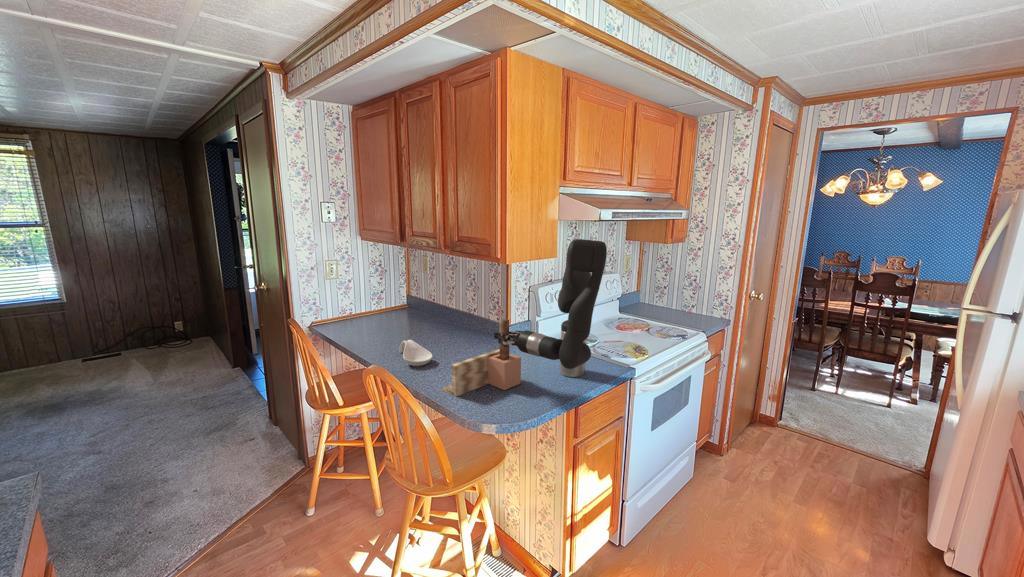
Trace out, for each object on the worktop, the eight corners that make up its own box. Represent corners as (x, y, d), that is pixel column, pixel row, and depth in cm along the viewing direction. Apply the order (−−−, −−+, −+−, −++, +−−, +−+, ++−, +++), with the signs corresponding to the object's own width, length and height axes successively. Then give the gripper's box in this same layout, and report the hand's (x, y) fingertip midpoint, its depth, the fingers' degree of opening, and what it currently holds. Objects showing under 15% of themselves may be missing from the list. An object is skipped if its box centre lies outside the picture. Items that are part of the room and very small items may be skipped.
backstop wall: (492, 372, 169) (492, 345, 167) (505, 376, 165) (505, 349, 163) (443, 390, 152) (442, 361, 150) (455, 396, 148) (455, 366, 146)
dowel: (504, 355, 158) (504, 318, 156) (511, 357, 156) (511, 320, 154) (497, 358, 156) (497, 320, 153) (504, 360, 154) (504, 322, 151)
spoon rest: (437, 365, 177) (436, 349, 176) (409, 371, 171) (408, 354, 169) (416, 350, 196) (415, 334, 195) (390, 354, 190) (389, 339, 189)
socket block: (504, 376, 164) (504, 351, 162) (520, 383, 158) (520, 357, 156) (488, 383, 158) (487, 357, 156) (504, 390, 152) (504, 363, 150)
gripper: (548, 328, 149) (512, 320, 161) (520, 337, 139) (484, 327, 151) (547, 349, 150) (512, 339, 162) (520, 359, 140) (484, 348, 152)
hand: (498, 333), depth 156 cm, fingers closed on dowel, 3 cm apart
